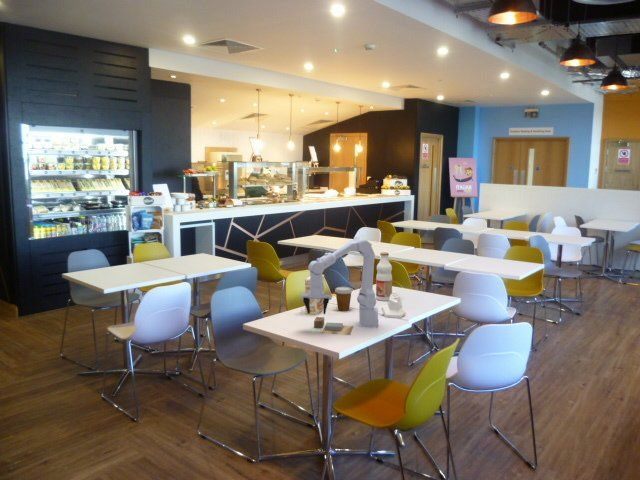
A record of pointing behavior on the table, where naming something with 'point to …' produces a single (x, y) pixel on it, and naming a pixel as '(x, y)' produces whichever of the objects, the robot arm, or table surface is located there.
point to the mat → (345, 331)
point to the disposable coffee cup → (343, 298)
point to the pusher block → (319, 322)
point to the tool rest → (316, 330)
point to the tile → (334, 326)
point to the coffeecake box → (315, 304)
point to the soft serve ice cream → (393, 307)
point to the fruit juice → (384, 278)
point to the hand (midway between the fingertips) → (316, 313)
